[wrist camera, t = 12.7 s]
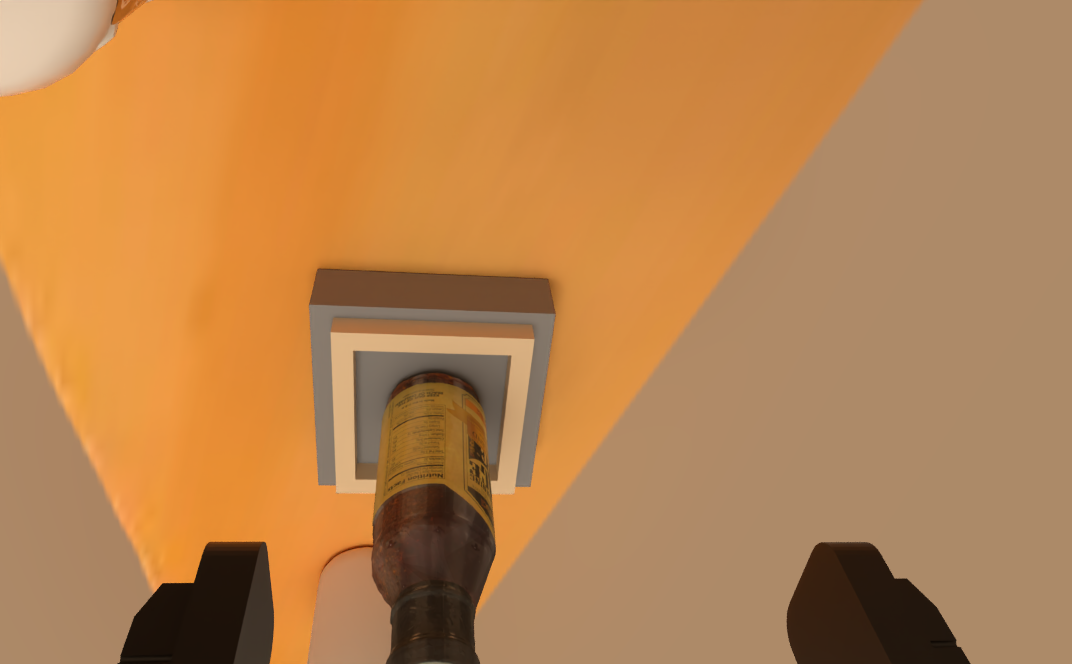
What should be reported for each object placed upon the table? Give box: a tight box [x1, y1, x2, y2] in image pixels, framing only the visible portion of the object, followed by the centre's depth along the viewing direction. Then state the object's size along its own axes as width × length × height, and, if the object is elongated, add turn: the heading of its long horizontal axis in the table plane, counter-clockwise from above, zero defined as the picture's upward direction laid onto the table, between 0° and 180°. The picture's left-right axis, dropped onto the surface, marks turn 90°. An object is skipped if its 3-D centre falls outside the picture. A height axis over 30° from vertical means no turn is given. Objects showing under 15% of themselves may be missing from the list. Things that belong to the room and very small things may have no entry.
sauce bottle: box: [371, 373, 496, 664], centre depth 43 cm, size 7×6×20 cm
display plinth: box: [309, 269, 555, 494], centre depth 52 cm, size 14×14×6 cm
